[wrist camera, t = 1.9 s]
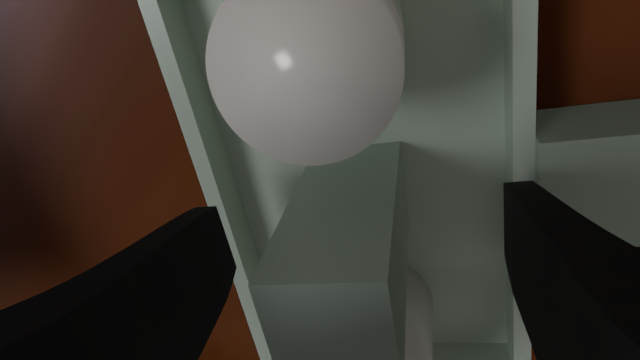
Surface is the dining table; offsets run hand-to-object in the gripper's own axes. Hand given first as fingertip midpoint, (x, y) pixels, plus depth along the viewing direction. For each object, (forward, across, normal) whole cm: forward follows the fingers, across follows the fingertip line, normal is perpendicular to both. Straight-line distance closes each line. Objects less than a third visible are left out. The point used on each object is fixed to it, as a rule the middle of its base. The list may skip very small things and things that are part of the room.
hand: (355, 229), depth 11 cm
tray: (+3, -2, 0) cm, 4 cm away
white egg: (+2, 0, -4) cm, 5 cm away
